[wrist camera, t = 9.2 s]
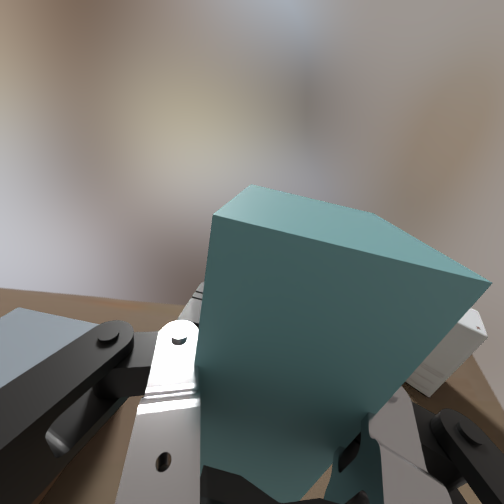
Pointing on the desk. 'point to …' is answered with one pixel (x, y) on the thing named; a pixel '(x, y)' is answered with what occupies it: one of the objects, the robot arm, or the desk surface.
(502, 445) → the desk surface
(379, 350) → the teal block
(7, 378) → the tower top
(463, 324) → the supplement box
